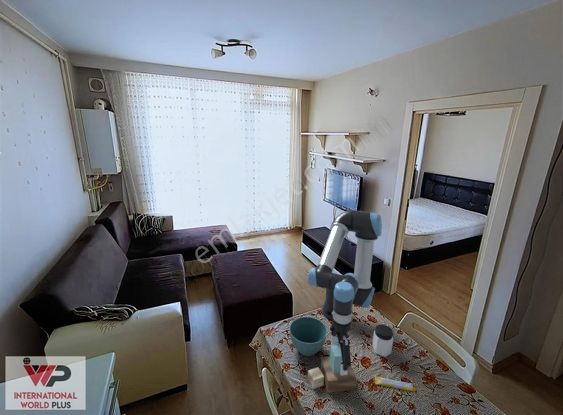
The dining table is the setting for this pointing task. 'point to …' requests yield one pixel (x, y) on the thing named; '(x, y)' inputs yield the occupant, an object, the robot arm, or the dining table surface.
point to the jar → (382, 340)
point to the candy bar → (394, 384)
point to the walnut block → (337, 377)
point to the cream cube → (315, 378)
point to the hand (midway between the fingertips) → (338, 360)
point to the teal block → (335, 358)
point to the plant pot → (308, 335)
